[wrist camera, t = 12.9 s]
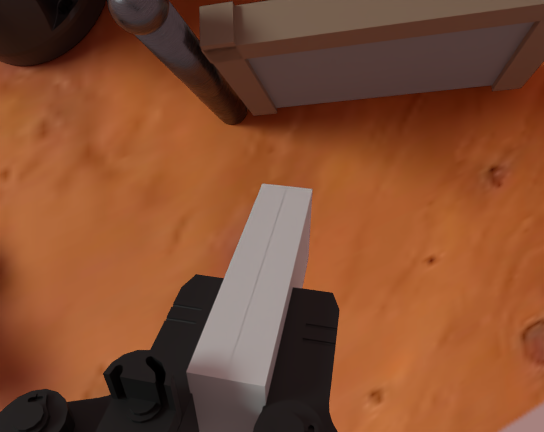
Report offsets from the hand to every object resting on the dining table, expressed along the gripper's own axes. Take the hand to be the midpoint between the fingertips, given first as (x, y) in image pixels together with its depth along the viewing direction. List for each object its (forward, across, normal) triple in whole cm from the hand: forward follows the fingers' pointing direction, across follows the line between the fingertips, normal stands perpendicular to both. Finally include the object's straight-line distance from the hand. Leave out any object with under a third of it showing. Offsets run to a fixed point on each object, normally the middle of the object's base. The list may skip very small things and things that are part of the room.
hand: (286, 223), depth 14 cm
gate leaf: (+22, +3, -4) cm, 22 cm away
